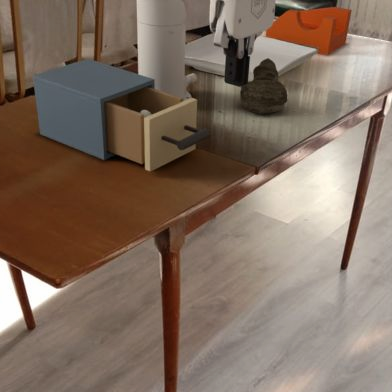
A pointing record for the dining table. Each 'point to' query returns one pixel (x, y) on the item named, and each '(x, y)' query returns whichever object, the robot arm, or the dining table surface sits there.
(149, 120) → the drawer
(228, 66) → the robot arm
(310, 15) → the tape dispenser
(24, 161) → the dining table surface
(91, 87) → the cabinet
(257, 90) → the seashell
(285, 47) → the square plate
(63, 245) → the dining table surface
